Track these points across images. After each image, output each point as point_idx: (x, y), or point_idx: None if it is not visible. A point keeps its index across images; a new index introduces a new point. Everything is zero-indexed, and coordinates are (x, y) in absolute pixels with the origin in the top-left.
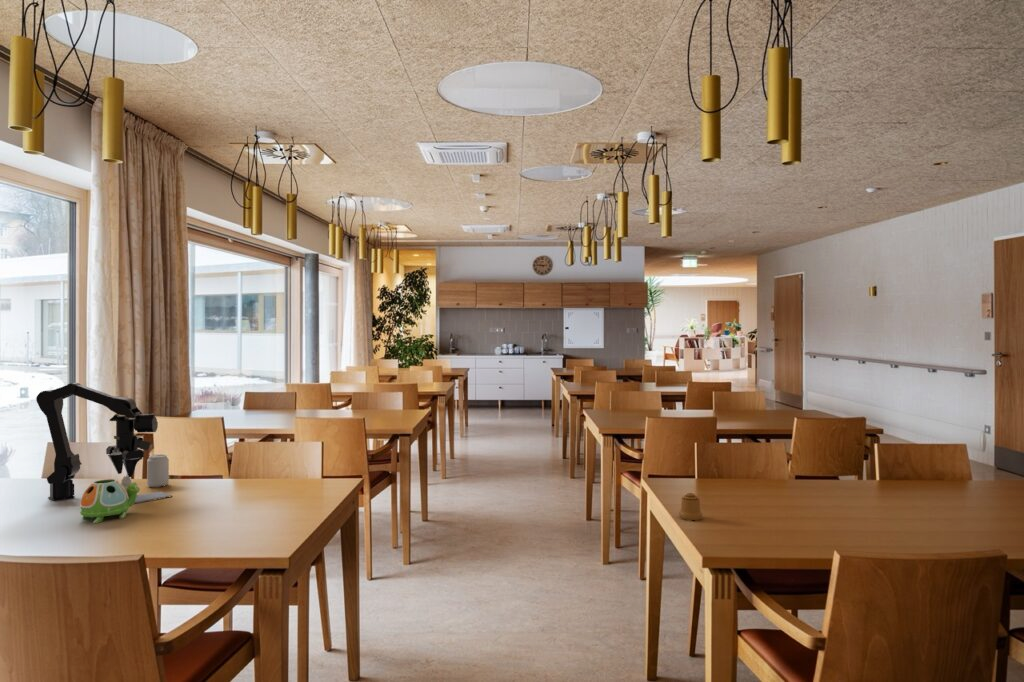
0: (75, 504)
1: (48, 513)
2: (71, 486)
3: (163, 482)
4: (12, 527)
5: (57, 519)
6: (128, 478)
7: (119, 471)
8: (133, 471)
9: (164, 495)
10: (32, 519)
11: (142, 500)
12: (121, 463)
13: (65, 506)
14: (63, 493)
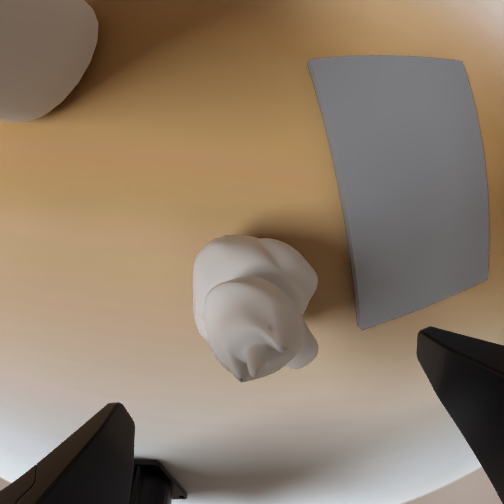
0: (298, 461)
1: (370, 485)
2: (135, 500)
3: (91, 11)
4: (431, 489)
5: (453, 449)
6: (292, 336)
7: (124, 435)
8: (482, 344)
9: (448, 87)
10: (402, 489)
11: (485, 223)
12: (72, 495)
13: (308, 476)
14: (169, 499)
